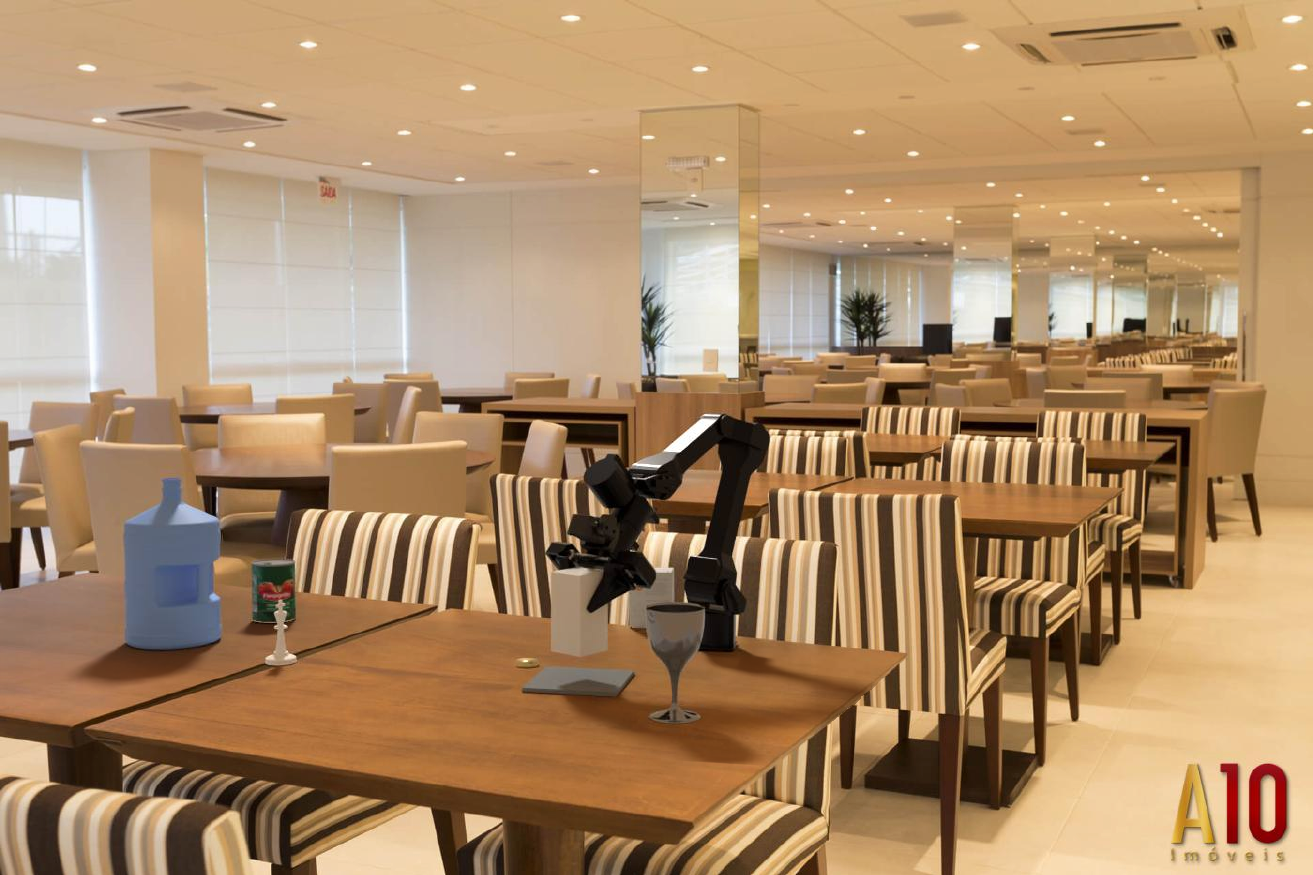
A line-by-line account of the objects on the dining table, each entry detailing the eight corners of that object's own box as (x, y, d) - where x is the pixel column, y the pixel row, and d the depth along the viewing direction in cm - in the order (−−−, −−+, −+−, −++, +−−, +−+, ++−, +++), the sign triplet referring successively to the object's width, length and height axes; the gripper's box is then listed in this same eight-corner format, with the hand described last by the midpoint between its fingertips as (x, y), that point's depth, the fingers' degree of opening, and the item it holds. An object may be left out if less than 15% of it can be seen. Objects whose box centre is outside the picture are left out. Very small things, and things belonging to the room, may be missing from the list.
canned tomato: (277, 614, 248) (277, 557, 247) (304, 619, 243) (304, 560, 242) (242, 620, 241) (242, 562, 241) (269, 625, 237) (269, 566, 236)
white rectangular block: (578, 644, 199) (578, 567, 199) (607, 650, 196) (607, 571, 195) (551, 651, 195) (551, 571, 194) (580, 657, 191) (580, 576, 190)
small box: (674, 623, 241) (675, 567, 241) (672, 629, 236) (672, 572, 235) (632, 622, 242) (632, 566, 242) (628, 628, 237) (628, 571, 236)
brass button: (540, 664, 208) (540, 658, 208) (534, 669, 205) (534, 663, 205) (519, 663, 209) (519, 657, 209) (512, 668, 206) (512, 662, 206)
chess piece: (303, 660, 209) (302, 598, 208) (282, 666, 204) (281, 603, 204) (279, 657, 211) (278, 596, 211) (258, 663, 207) (257, 601, 206)
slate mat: (634, 674, 201) (634, 670, 201) (615, 696, 187) (616, 692, 187) (546, 670, 203) (546, 666, 203) (522, 691, 190) (522, 687, 190)
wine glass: (643, 709, 180) (643, 602, 179) (700, 708, 181) (701, 601, 180) (647, 725, 172) (648, 613, 172) (707, 724, 173) (708, 612, 172)
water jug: (103, 646, 219) (101, 480, 217) (171, 629, 233) (169, 473, 232) (177, 654, 213) (174, 484, 211) (241, 636, 227) (239, 477, 226)
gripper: (553, 490, 203) (501, 568, 195) (644, 498, 191) (592, 582, 183) (588, 535, 209) (539, 613, 202) (677, 546, 197) (629, 629, 190)
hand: (573, 608), depth 194 cm, fingers closed on white rectangular block, 6 cm apart
